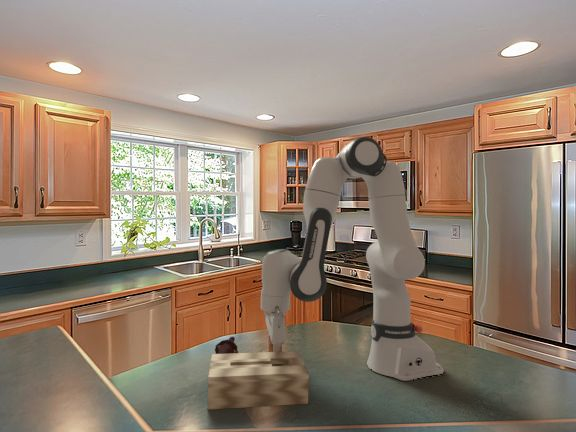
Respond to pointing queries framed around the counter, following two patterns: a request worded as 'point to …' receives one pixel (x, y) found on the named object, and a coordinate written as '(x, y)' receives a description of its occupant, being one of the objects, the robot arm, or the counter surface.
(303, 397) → the keyhole plate
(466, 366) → the counter surface
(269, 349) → the wooden block
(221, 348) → the icecream
